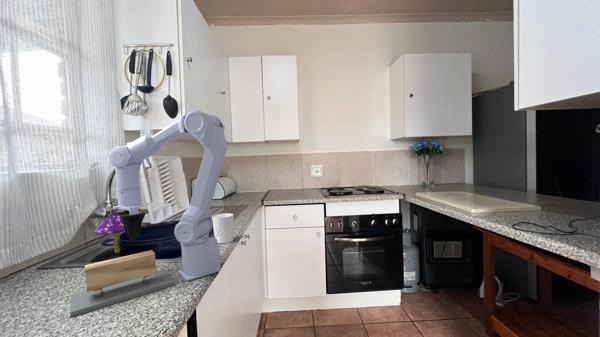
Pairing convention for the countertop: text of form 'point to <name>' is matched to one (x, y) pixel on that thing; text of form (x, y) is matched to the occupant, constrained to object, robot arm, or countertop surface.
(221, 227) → the white cup
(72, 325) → the countertop surface
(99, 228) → the decorative mushroom
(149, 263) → the board
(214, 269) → the robot arm
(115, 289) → the flat gray rectangular plate
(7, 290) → the countertop surface
